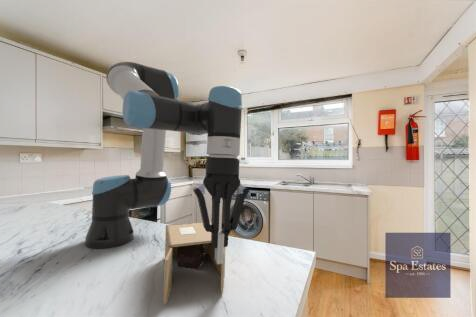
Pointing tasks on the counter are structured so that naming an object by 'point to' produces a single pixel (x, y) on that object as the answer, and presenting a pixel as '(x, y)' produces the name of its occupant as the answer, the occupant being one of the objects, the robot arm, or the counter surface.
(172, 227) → the carton
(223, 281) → the flap far
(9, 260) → the counter surface
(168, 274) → the flap near
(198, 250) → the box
